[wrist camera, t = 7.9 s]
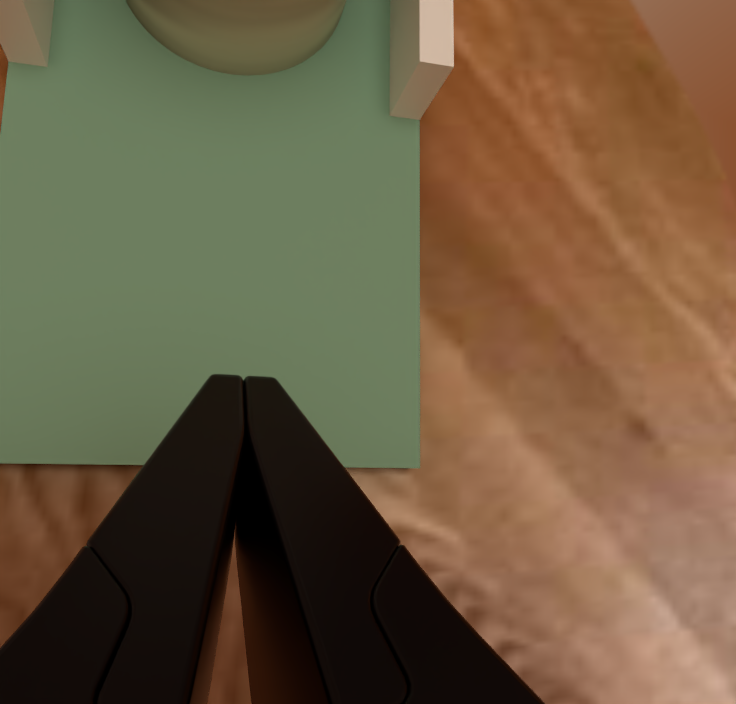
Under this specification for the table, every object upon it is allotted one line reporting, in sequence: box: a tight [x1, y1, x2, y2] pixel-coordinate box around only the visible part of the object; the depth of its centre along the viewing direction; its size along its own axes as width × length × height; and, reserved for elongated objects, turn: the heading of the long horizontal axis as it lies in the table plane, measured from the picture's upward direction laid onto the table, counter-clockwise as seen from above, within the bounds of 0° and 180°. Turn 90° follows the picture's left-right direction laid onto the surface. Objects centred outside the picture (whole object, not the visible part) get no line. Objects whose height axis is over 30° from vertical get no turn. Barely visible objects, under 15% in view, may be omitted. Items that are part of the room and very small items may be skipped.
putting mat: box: [0, 0, 420, 468], centre depth 21 cm, size 22×12×1 cm, turn 0°
